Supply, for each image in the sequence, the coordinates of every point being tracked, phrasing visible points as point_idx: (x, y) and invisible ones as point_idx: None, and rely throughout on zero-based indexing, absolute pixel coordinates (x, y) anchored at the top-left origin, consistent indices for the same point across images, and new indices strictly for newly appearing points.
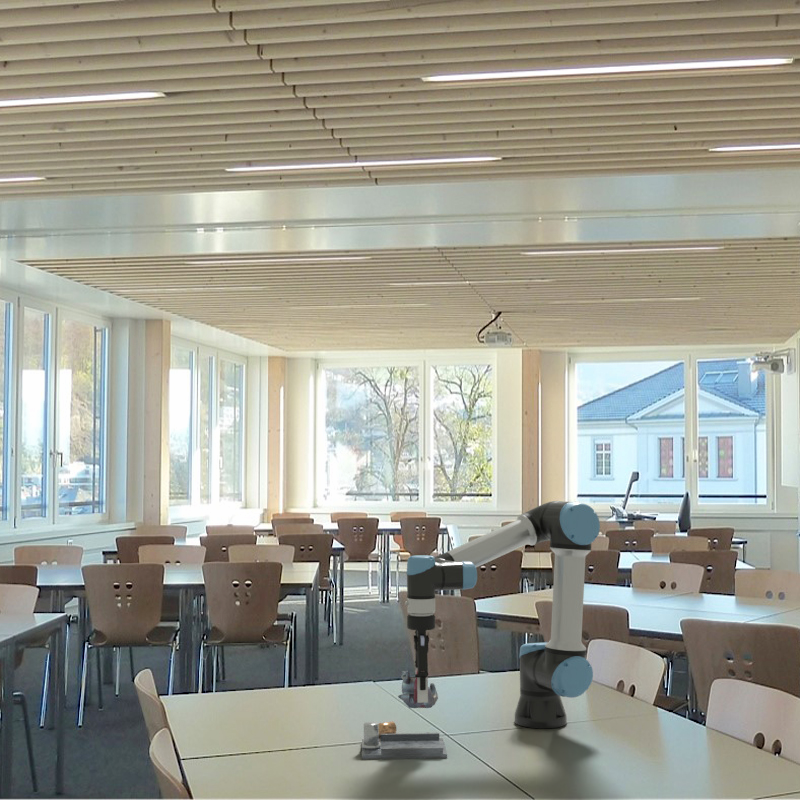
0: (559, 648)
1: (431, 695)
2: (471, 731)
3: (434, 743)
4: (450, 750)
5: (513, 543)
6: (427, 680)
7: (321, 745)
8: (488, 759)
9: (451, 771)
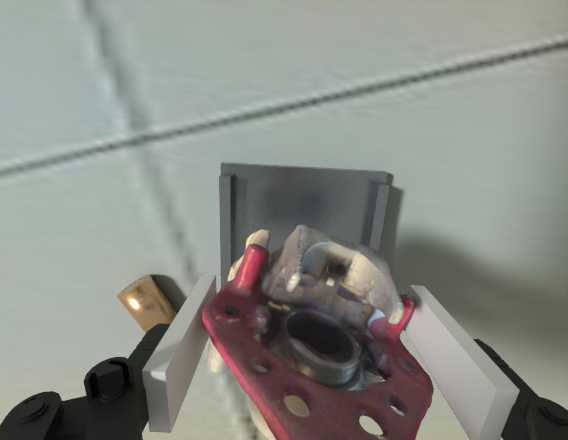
0: None
1: (392, 277)
2: (97, 53)
3: (275, 193)
4: (312, 152)
5: None
6: (500, 371)
7: (238, 411)
8: (425, 51)
9: (506, 175)
